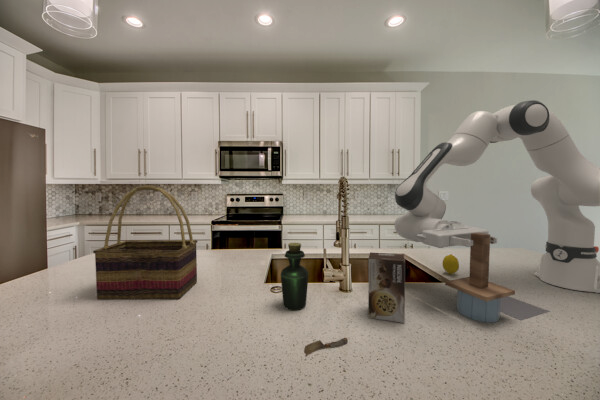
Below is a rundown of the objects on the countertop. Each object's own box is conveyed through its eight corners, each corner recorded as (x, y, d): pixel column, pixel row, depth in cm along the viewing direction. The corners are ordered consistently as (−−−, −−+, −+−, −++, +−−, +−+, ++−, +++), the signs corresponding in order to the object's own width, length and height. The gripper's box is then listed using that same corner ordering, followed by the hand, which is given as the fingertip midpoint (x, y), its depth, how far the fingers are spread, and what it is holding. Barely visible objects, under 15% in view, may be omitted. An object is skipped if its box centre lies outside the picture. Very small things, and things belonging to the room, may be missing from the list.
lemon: (461, 277, 95) (461, 256, 95) (445, 276, 97) (445, 255, 96) (455, 272, 101) (455, 252, 100) (440, 271, 102) (440, 252, 102)
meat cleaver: (294, 345, 56) (297, 361, 51) (294, 340, 55) (296, 356, 51) (345, 339, 57) (353, 354, 52) (345, 334, 57) (353, 349, 52)
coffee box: (403, 312, 69) (404, 254, 68) (404, 324, 63) (406, 260, 62) (369, 306, 72) (369, 251, 71) (367, 317, 66) (368, 257, 65)
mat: (497, 294, 81) (497, 292, 81) (549, 313, 68) (550, 311, 68) (470, 300, 76) (470, 299, 76) (520, 322, 64) (520, 320, 64)
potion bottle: (292, 296, 79) (291, 239, 78) (314, 303, 74) (314, 243, 73) (274, 306, 72) (274, 244, 71) (297, 315, 67) (297, 249, 66)
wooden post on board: (471, 279, 74) (473, 229, 73) (514, 294, 64) (517, 236, 63) (445, 284, 70) (446, 231, 69) (486, 301, 60) (488, 239, 59)
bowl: (471, 304, 73) (472, 281, 73) (507, 320, 65) (509, 293, 64) (449, 309, 70) (450, 285, 70) (484, 327, 61) (485, 299, 61)
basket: (92, 300, 76) (87, 185, 74) (126, 282, 90) (122, 185, 89) (180, 300, 76) (177, 185, 74) (199, 282, 91) (197, 185, 89)
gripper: (412, 224, 74) (456, 232, 62) (460, 221, 82) (508, 227, 69) (411, 245, 75) (455, 258, 62) (459, 240, 82) (507, 250, 69)
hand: (483, 242), depth 66 cm, fingers open, 8 cm apart
